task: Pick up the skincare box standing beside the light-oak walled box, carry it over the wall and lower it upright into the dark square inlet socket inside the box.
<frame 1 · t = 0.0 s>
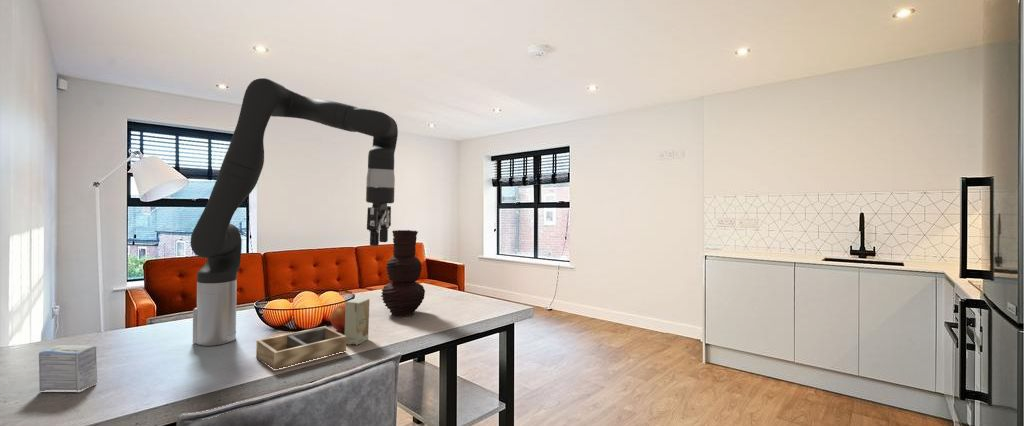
hand: (379, 243, 121), 29 cm above the table, fingers open, 8 cm apart
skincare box: (356, 342, 126), on the table
walled box: (302, 355, 114), on the table
vase: (402, 314, 156), on the table
grey striped block: (68, 389, 91), on the table
apple: (344, 331, 135), on the table
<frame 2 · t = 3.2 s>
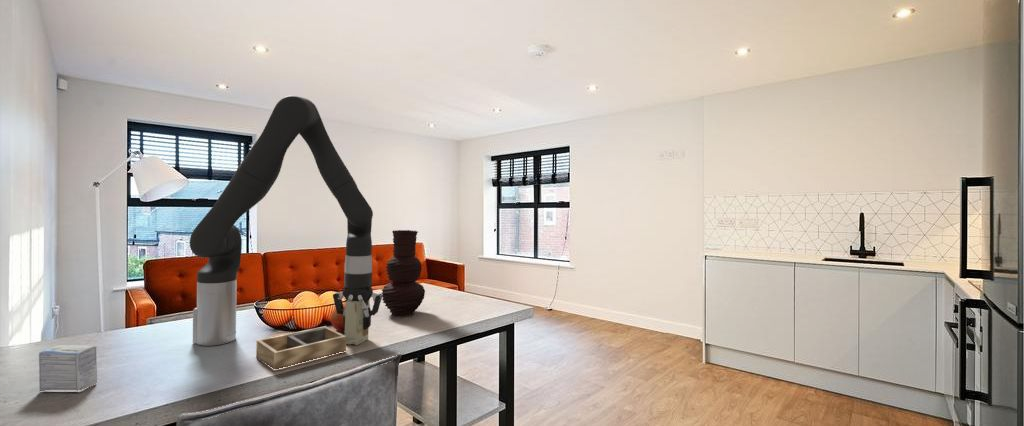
hand: (357, 328, 126), 4 cm above the table, fingers closed on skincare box, 5 cm apart
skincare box: (356, 342, 126), on the table, touching gripper
everything else where it was.
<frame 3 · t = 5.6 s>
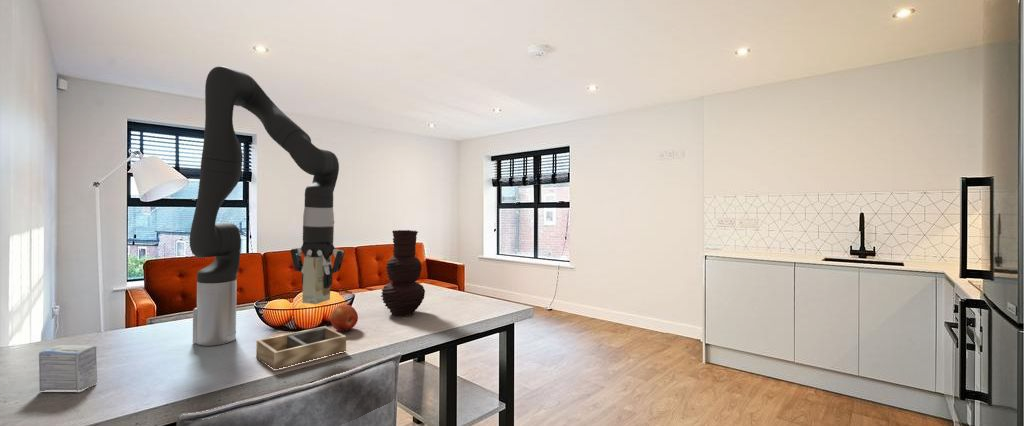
hand: (317, 287, 116), 18 cm above the table, fingers closed on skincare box, 5 cm apart
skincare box: (316, 302, 116), point 13 cm above the table, touching gripper
everything else where it was.
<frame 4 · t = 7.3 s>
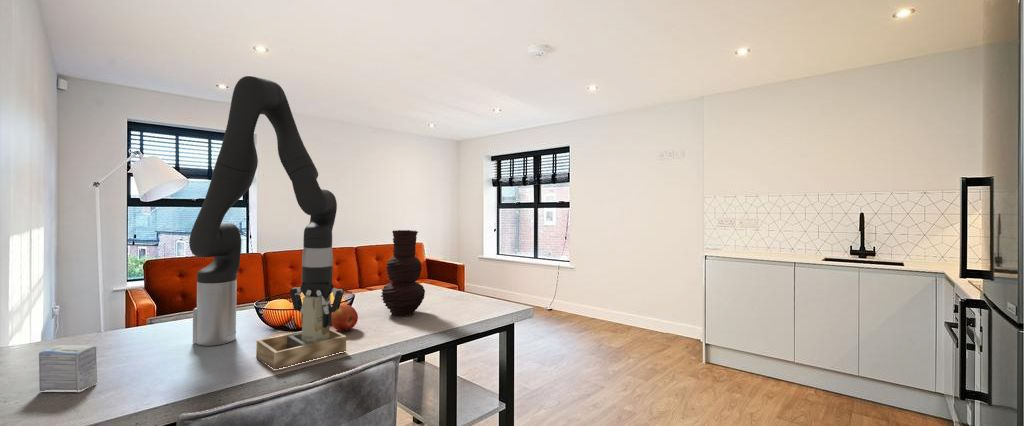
hand: (316, 326, 117), 7 cm above the table, fingers closed on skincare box, 5 cm apart
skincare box: (316, 341, 117), point 3 cm above the table, touching gripper
everything else where it was.
when the fingers open (6 cm above the table, at t = 8.5 s): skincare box stays where it is, resting on walled box.
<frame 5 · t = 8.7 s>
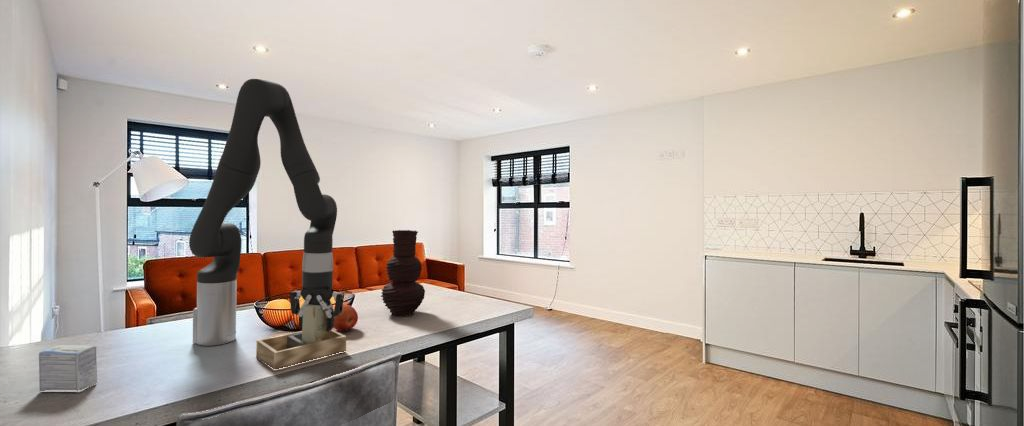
hand: (316, 329, 117), 6 cm above the table, fingers open, 6 cm apart
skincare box: (315, 349, 117), point 1 cm above the table, touching walled box
everything else where it was.
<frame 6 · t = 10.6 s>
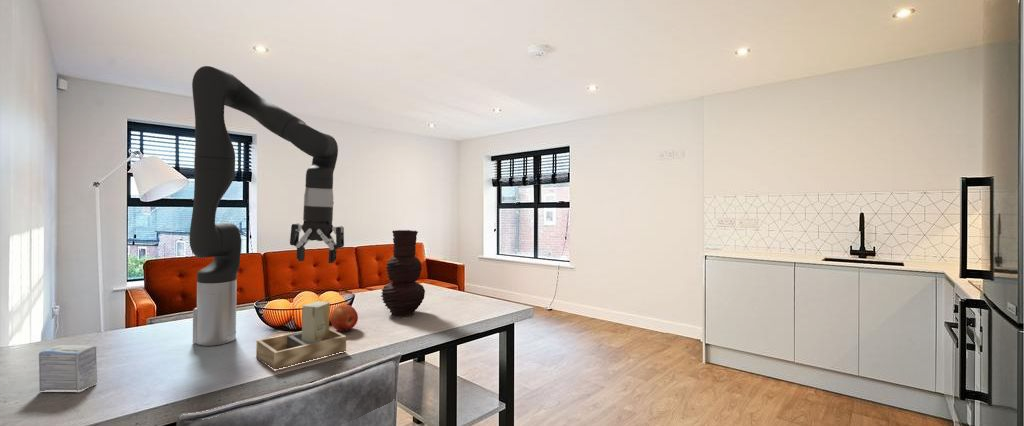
hand: (316, 261, 122), 23 cm above the table, fingers open, 8 cm apart
nothing on the table moved.
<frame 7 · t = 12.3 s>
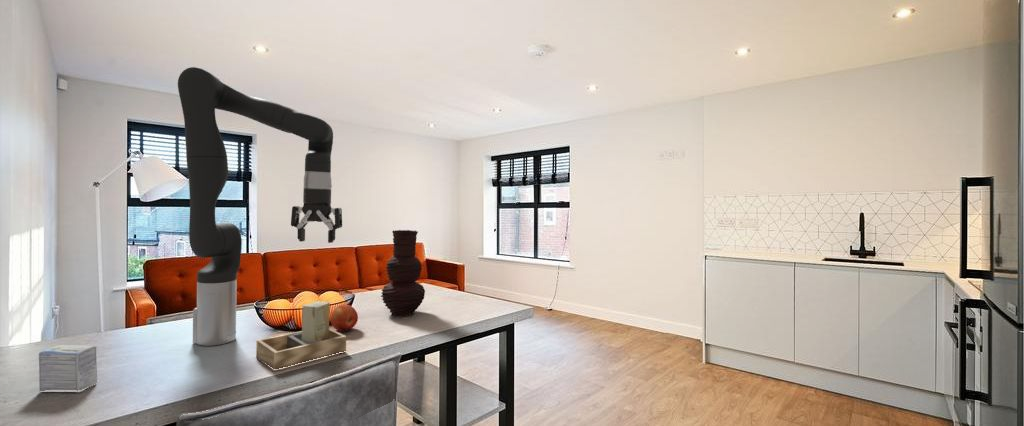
hand: (316, 241, 129), 28 cm above the table, fingers open, 8 cm apart
nothing on the table moved.
at the end: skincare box 0.2 cm from the target spot, point 0.6 cm above the table; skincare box tilted 0°; the gripper is holding nothing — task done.
